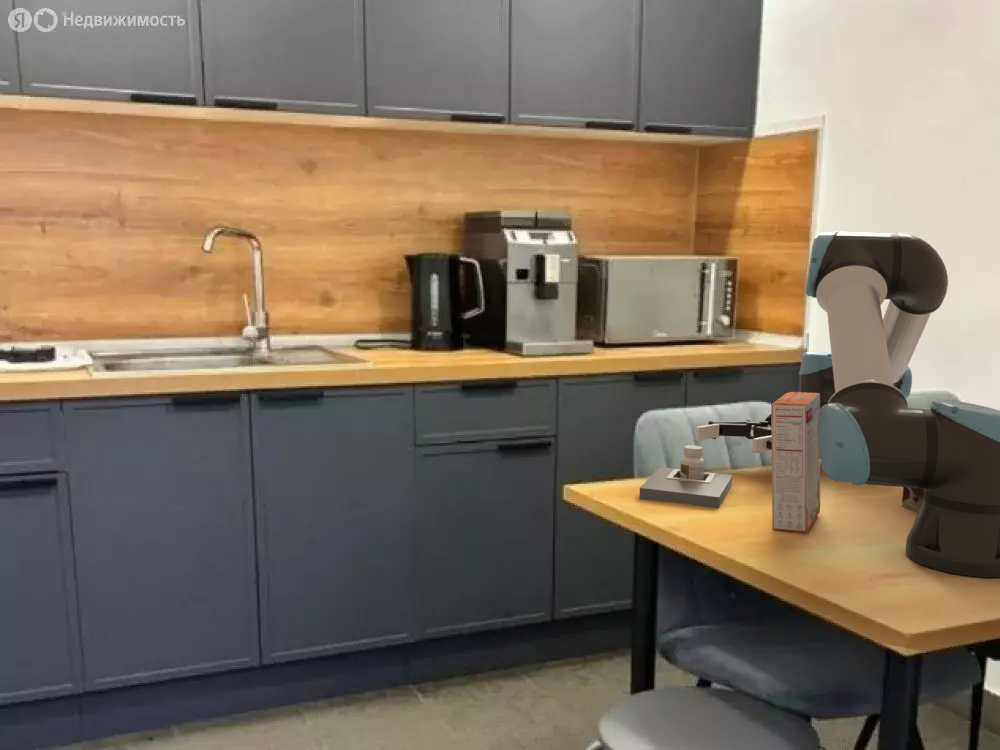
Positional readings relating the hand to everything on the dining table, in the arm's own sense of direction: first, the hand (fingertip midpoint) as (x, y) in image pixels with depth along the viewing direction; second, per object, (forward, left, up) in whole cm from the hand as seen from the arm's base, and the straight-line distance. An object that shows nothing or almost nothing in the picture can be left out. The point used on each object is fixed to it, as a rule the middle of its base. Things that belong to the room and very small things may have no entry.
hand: (724, 439), depth 183 cm
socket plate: (-12, +5, -8) cm, 15 cm away
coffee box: (-6, -37, -8) cm, 39 cm away
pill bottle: (-8, +5, -8) cm, 13 cm away
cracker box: (-24, -15, -8) cm, 30 cm away
